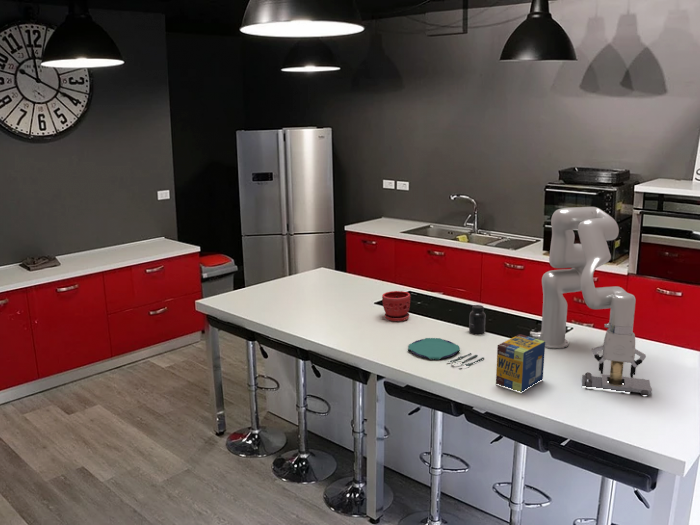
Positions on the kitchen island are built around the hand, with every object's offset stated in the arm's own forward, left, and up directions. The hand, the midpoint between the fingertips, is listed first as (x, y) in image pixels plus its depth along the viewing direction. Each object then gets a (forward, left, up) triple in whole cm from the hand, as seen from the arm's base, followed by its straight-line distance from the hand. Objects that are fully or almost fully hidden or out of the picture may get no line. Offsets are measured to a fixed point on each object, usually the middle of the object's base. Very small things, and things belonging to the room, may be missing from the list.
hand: (616, 374), depth 219 cm
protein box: (-32, -7, -5) cm, 33 cm away
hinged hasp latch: (0, 0, -5) cm, 5 cm away
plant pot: (-94, +47, -5) cm, 105 cm away
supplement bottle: (-55, +40, -5) cm, 68 cm away
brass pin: (0, 0, -5) cm, 5 cm away
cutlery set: (-64, +10, -6) cm, 65 cm away
